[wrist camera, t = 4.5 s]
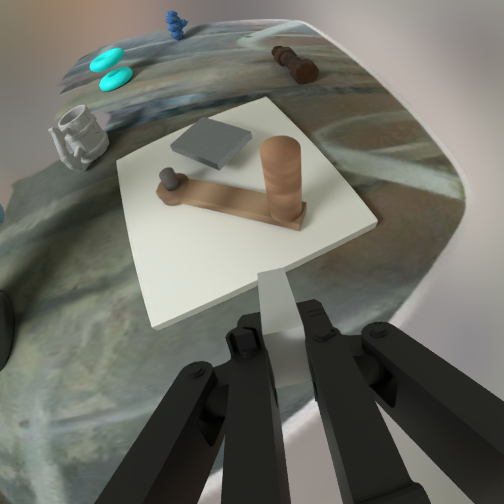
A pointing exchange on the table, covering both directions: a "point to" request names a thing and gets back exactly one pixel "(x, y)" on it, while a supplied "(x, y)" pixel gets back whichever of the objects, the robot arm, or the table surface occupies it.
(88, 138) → the mug
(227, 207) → the link
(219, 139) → the block
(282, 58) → the bolt
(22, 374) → the table surface
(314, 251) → the base plate
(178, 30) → the blue knobby flower
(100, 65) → the donuts
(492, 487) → the robot arm
